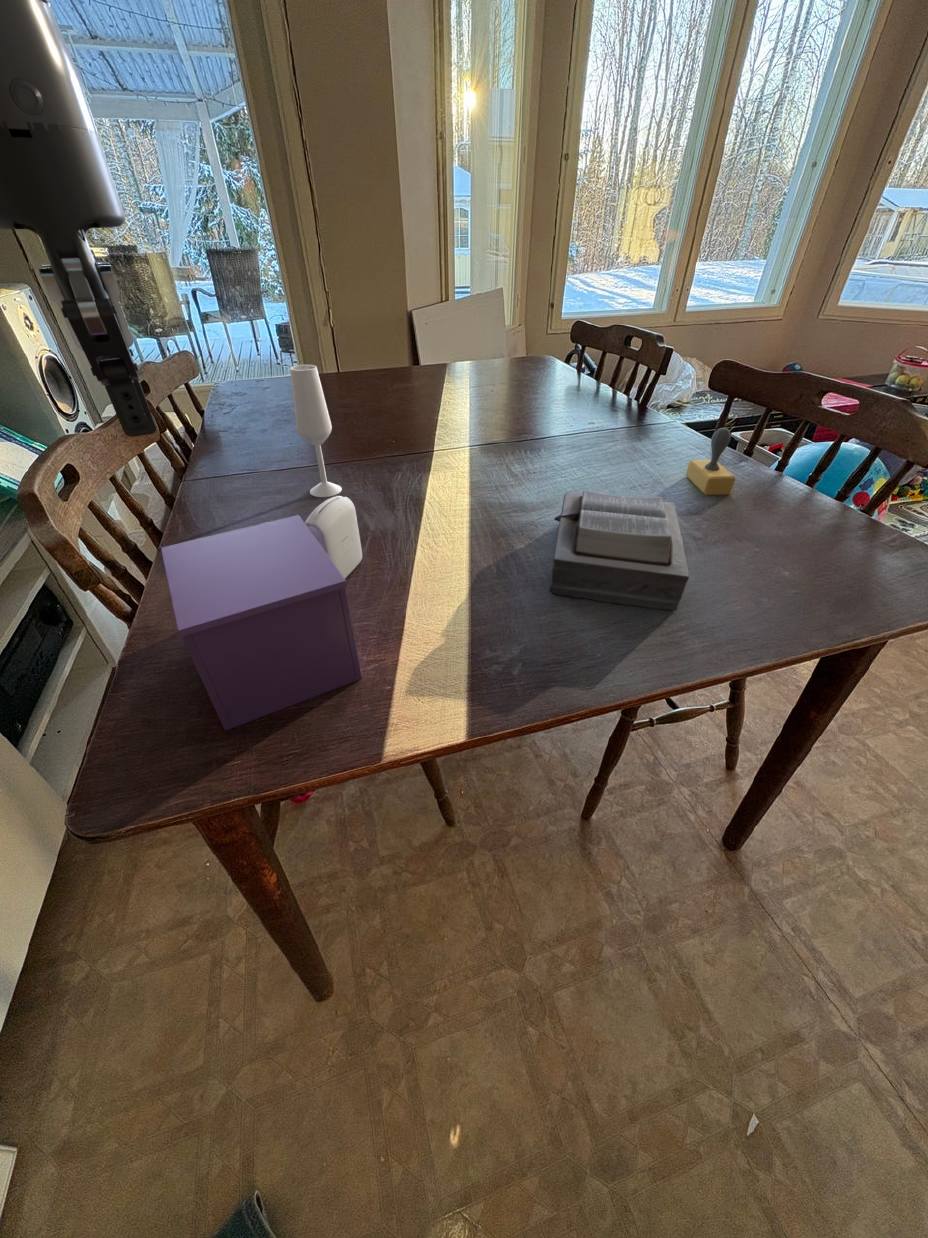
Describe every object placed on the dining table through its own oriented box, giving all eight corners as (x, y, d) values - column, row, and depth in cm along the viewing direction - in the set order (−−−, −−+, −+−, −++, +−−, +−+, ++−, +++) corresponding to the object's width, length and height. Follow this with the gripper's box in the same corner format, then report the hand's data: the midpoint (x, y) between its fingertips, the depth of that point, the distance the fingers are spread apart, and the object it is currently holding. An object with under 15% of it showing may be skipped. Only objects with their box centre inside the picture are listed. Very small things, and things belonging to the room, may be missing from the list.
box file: (362, 678, 65) (345, 586, 56) (225, 731, 58) (181, 635, 49) (319, 606, 77) (300, 520, 68) (201, 643, 70) (163, 553, 61)
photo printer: (334, 592, 79) (320, 520, 72) (311, 587, 81) (294, 516, 73) (366, 559, 87) (357, 491, 79) (344, 554, 88) (332, 487, 80)
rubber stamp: (684, 475, 114) (699, 420, 106) (710, 474, 114) (727, 419, 107) (704, 495, 106) (722, 437, 98) (731, 494, 106) (751, 436, 99)
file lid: (347, 586, 55) (346, 580, 54) (180, 637, 49) (177, 630, 48) (300, 520, 68) (298, 514, 67) (163, 553, 61) (160, 547, 61)
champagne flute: (345, 493, 107) (326, 369, 92) (314, 499, 105) (288, 373, 90) (336, 481, 112) (316, 361, 97) (306, 487, 110) (280, 365, 95)
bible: (520, 587, 80) (524, 531, 74) (565, 514, 99) (572, 465, 93) (675, 625, 73) (694, 567, 67) (692, 538, 92) (708, 486, 86)
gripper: (-44, 130, 32) (86, 417, 43) (-96, 98, 23) (85, 471, 34) (94, 137, 35) (183, 403, 45) (96, 110, 26) (206, 450, 36)
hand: (141, 432), depth 39 cm, fingers closed
